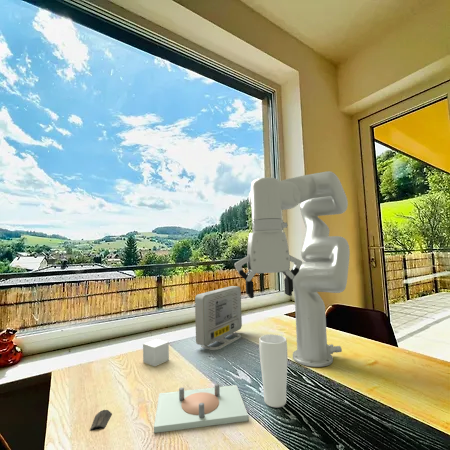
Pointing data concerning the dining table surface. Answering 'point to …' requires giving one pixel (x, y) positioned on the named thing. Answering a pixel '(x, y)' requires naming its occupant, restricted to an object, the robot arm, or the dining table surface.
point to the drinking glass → (273, 368)
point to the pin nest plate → (199, 408)
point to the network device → (218, 316)
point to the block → (101, 420)
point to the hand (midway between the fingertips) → (269, 295)
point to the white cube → (155, 352)
